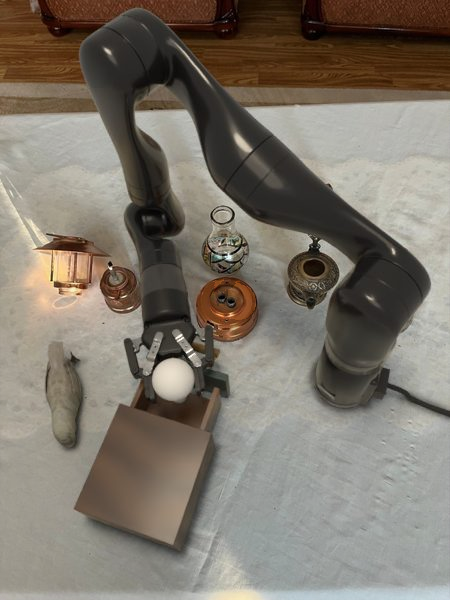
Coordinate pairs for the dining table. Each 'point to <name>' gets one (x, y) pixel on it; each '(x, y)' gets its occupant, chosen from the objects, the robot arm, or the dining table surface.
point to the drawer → (190, 399)
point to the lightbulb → (173, 380)
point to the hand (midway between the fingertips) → (176, 398)
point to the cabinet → (148, 476)
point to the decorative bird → (62, 393)
